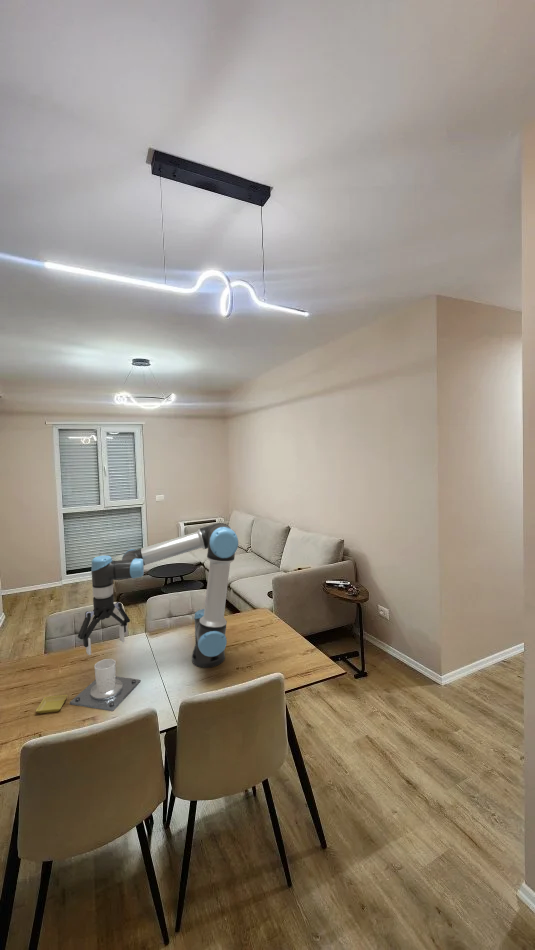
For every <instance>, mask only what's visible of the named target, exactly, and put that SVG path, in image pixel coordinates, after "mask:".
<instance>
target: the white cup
mask: <svg viewBox="0 0 535 950" xmlns="http://www.w3.org/2000/svg"><path fill="white" fill-rule="evenodd" d="M116 663H117V661H116V660H115V659H113V658H104V659H101V660H99V661H97V662H96V663H95V664H94V665H93V666H94V667H93V668H94V677H95V680H96V684H97V691H98V692H101V693H105V692H109V691H111V690H112V689H114V687H115V677H117V676H116V674H117V672H116V671H117V670H116V668H117V667H116Z"/></svg>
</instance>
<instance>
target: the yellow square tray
mask: <svg viewBox="0 0 535 950" xmlns="http://www.w3.org/2000/svg"><path fill="white" fill-rule="evenodd" d="M67 698H68V694H60V695H53V696H52V695H51V696H45V697H43V699H42V700H41V702H40V703H39V705H38V707H36V710H35V712H36V713H38V714H47V713H56V712H60V711H61V708H62V707H63V705H64V703H65V702H66V700H67Z"/></svg>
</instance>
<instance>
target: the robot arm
mask: <svg viewBox="0 0 535 950" xmlns="http://www.w3.org/2000/svg"><path fill="white" fill-rule="evenodd" d="M238 548H239V538H238V535H237V534H236V532H235V531H234V530H233V529H232V528H231V526H230V525H228V524H226V523H223V522H217V523H213V524H210V525H206V526H204V527H200V528H198V530H197V531H195V532H192V533H187V534H185V535H181V536H178V537H175V538H172V539H167V540H166V541H165V540H164V541H162V542H158V543H155V544H151V545H148V546H145V547H141V548H139V549H128V550H127V551H126V552H124V554H123V555H122V557H121V559H118V560H113V558H112V557H111V556H110V555H99V556H96V557H93V558H92V560H91V570H90V571H91V581H92V583H91V584H92V587H91V588H92V596H93V597H92V603H93V605H92V606H93V611H85V613H84V615H85V616H84V619H83V621H82V623H81V626H80V629H79V632H78V634H77V638H78V639H80V640H82V642H83V646H84V647H85V650H86V651H85V652H86V654H87V655H88V656H91V655H92V646H91V645H92V643H91V638H90V636H91V634H92V633H93V631H94V629H95V628H96V626H97V625H98V623H100V621H103V620H106V619H109V618H110V617H111V616H112V618H113V619H114V620H116V621H117V622H119V623H120V624H119V625H118V628H119V629H118V630H119V634H118V635H119V641H121V642H122V643H124V642H125V633H126V632H127V626H128V623H130V622H131V619H130V617H129V616H128V615H127V613H126V612H125V610H124V608H123V604H122V602H119V601H116V602H115V600H114V598H115V597H114V584H113V583H114V582H113V581H116V580H117V581H118V580H129V579H137V578H142V577H143V576H144V575H145V573H144V571H145V569H144V568H145V567H144V566H146V565H150V564H153V563H156V562H160V561H163V560H167V559H169V558H172V557H173V558H174V557H176V556H179V555H183V554H187V553H189V552H192V551H196V550H199V549H203V550H207V554H206V557H207V559H208V561H209V569H208V575H207V576H208V577H207V584H206V585H207V586H206V591H205V592H206V593H205V603H204V608H201V609H199V610H197V611H196V612H195V613H194V639H195V640H194V641H195V643H194V648H193V651H192V654H191V662H192V664H193V665H194V666H196V667H198V668H205V669H206V668H213V667H217V666H218V665H221V664H223V662H224V661H225V659H226V655H225V654H226V651H225V649H226V647H227V637H226V631H227V619H226V618H225V609H226V604H227V603H226V602H227V601H226V600H227V592H228V584H229V575H230V569H231V568H230V567H231V563H232V562H234V561H235V555H236V552H237V551H238ZM115 609H117V611H118V612H119V614H120V615H121V617H122V618H123V619H122V618H121V617H119V616H118V615H117V614H116V613H115V612H114V611H115ZM93 615H94V616H93ZM91 619H92V620H91Z"/></svg>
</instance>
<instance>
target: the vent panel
mask: <svg viewBox="0 0 535 950" xmlns="http://www.w3.org/2000/svg"><path fill="white" fill-rule="evenodd" d="M141 681H142V680H141V679H140V678H139V679H138V678H130V677H123V676H116V677H115V687H114V689H112V690H111V691H109V692H105V693H101V692H98V691H97V684H96V679H94V680H93V681H92V682H91V683H90V684H89V685H87V686H86V687H85V688H84V689H83V690H82V691H80V693H78V694H77V695H76V696H75V697H74V698H72V699H71V700H70V701H69V705H72V706H78V707H79V706H80V707H85V708H91V709H96V710H97V709H99V710H105V711H109V712H110V711H111V712H113V711H115V710H116V709H117V708H118V707H119V706H120V704H121V703H122V702H123V701H124V700H125V699H126V697H128V696H129V695H130V694H131V693H132V692H133V690H134V689H135V688H136V687H137V686H138V685H139V684H140V683H141Z"/></svg>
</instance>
